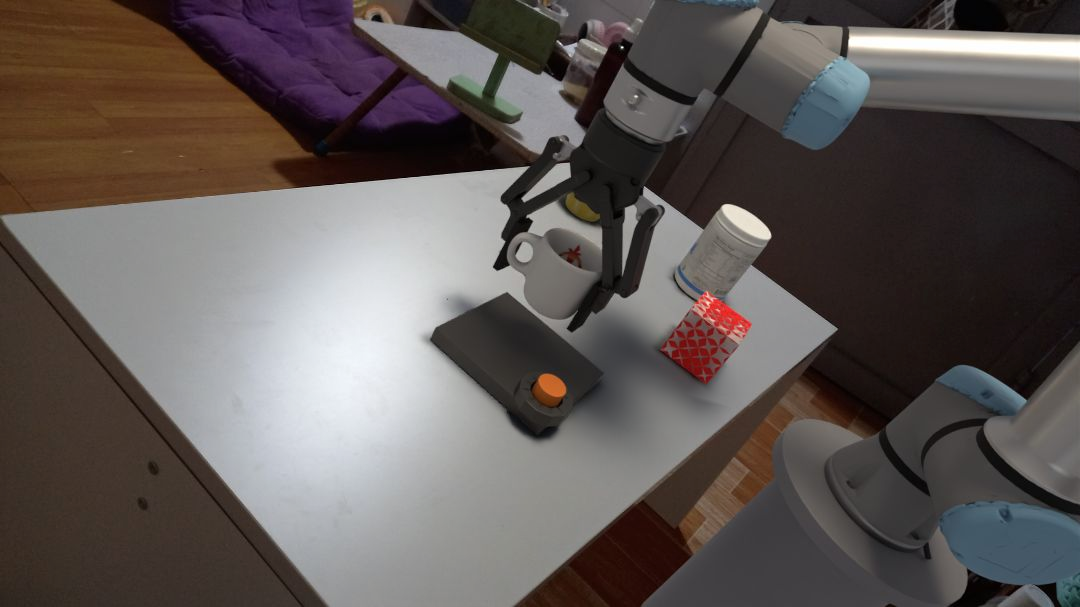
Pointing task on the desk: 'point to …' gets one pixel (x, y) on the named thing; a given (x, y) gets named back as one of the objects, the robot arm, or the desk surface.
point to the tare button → (549, 390)
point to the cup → (557, 270)
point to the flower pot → (580, 209)
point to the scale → (516, 358)
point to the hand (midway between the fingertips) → (537, 296)
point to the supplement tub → (722, 253)
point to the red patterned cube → (706, 337)
